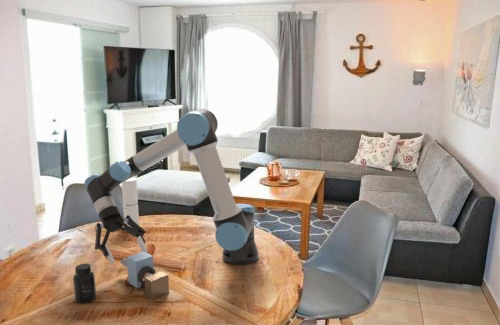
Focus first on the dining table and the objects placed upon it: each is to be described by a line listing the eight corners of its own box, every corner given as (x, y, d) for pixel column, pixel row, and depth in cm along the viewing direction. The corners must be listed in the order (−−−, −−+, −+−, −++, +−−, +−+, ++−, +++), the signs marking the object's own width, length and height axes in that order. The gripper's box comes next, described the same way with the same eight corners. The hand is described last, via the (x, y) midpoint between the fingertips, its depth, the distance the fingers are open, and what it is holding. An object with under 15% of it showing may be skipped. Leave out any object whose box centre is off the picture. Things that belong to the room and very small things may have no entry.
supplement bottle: (99, 293, 147) (96, 261, 145) (92, 304, 141) (89, 270, 138) (79, 294, 147) (76, 262, 145) (71, 304, 140) (68, 271, 138)
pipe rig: (115, 276, 160) (114, 259, 159) (132, 270, 165) (131, 254, 164) (151, 300, 143) (150, 281, 142) (169, 293, 148) (168, 274, 146)
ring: (138, 285, 149) (137, 269, 148) (153, 279, 154) (152, 263, 152) (140, 287, 148) (139, 270, 147) (155, 281, 152) (155, 265, 151)
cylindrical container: (135, 230, 209) (132, 181, 204) (121, 229, 211) (118, 180, 206) (141, 225, 216) (139, 178, 211) (128, 224, 218) (125, 177, 213)
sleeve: (128, 282, 153) (127, 256, 151) (145, 276, 158) (144, 251, 156) (137, 288, 149) (135, 261, 147) (154, 281, 154) (152, 256, 152)
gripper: (132, 208, 175) (154, 252, 168) (73, 222, 158) (94, 272, 150) (138, 198, 171) (161, 243, 163) (78, 212, 153) (100, 263, 146)
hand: (129, 257), depth 157 cm, fingers open, 13 cm apart
